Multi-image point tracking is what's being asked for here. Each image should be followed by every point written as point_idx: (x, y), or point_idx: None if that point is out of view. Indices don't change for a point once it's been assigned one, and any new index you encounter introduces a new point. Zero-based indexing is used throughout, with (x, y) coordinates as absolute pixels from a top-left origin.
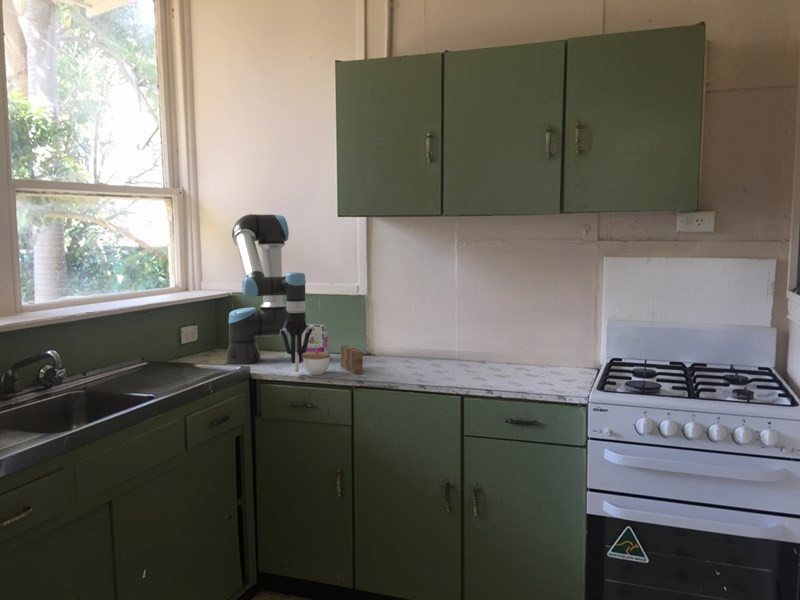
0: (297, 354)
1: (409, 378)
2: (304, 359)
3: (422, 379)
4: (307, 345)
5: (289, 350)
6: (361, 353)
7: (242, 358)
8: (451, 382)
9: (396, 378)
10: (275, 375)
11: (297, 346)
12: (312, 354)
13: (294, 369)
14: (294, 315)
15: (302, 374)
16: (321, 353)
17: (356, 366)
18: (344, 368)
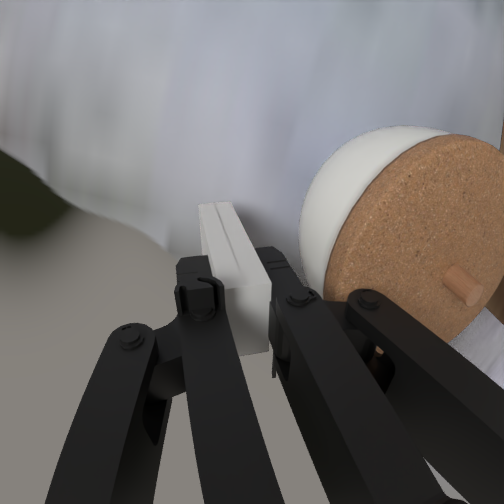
0: (268, 303)
1: (496, 348)
2: (317, 287)
3: (499, 357)
4: None
5: (155, 419)
6: None
7: None
8: (499, 378)
9: (484, 348)
10: (54, 189)
11: (308, 392)
12: (410, 305)
13: (201, 232)
14: None
15: (260, 207)
16: (479, 269)
17: (488, 307)
18: (502, 140)
